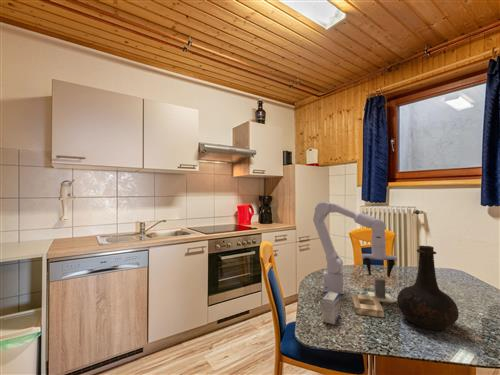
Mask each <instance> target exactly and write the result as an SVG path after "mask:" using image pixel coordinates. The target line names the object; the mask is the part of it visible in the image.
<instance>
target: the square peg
mask: <svg viewBox="0 0 500 375" xmlns="http://www.w3.org/2000/svg"><path fill="white" fill-rule="evenodd" d="M373 292H374V295H375V297H377V298H383V299H385V293H386V280H385V278H384V277H379V276H373Z"/></svg>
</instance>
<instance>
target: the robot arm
mask: <svg viewBox="0 0 500 375" xmlns="http://www.w3.org/2000/svg"><path fill="white" fill-rule="evenodd" d="M332 213H338V214H340V215H343V216H346V217H348V218H351V219H353V221H354V222H355V224H358V225H360V226H362V227H364V228H367V229H371V240H370V241H371V253H361V254H360V258H361V259H362V260H363V261H364V263H365V265H366V268H367V270H368V271H367V272H368V276H372V270H371V266H372V264H371V263H372V261H371V260H377V261H379V260H380V261H386V277H387V278H391V273H392V271H393V268H394V266H395V265H396V262H398V256H396V255H390V254H387V250H386V248H387V247H386V231H385V230H386V224H385V222H384V220H382V219H380V218H377V216H372V215H369V214H368V213H367V212H365V211H359V212H355V211H354V210H351V209H349V208H346V207H344V206H342V205H340V204H338V203H335V202H330V201H327V200H324V201H319V202H317V204H316V206H315V208H314V214H313V218H312V220H313V224H314V227H315V230H316V231H317V235H318V237H319V240H320V243H321V246H322V248H323V251H324V253H325V261H326V263H327V264H326V269H327V270H326V271H325V270H324V271H322V272H323V274H322V275H323V278H322V279H323V283H322V287H323V292H324V293H328V292H333V293H338V294H339V295H340V294H341V295H344V294H345V287H344V271H343V270H342V267H343V264H344V262H343V259H342V258H341V257H340V256H339V255H338V251H336V249H335V246H334V244H333V242H332V238H331V236H330V234H329V231H328V228H327V225H326V223H325V220H326V217H327V216H328V215H329V214H332Z"/></svg>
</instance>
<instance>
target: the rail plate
mask: <svg viewBox="0 0 500 375" xmlns="http://www.w3.org/2000/svg"><path fill="white" fill-rule="evenodd" d="M351 295H352V296H351V297H352V305H353V309H354V310H353V311H354V313H355V315H360V316H361V315H362V316H369V317H377V318H384V317H385V316H384V315H385V314H384V309H383V307H382V304H381V302H380V301H379V300H378V298H377V297H375V296H368V295H364V294H358V293H357V294H356V293H352V294H351Z"/></svg>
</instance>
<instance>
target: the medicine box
mask: <svg viewBox="0 0 500 375" xmlns="http://www.w3.org/2000/svg"><path fill="white" fill-rule="evenodd" d="M321 303H322V305H321V306H322V307H321V309H322V310H321V311H322V322H323V323H327V324H331V325H336V323H337V321H338V319H339V317H340V294H339V293H333V292H326V293H325V295H324V296H323V297H322V299H321Z"/></svg>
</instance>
